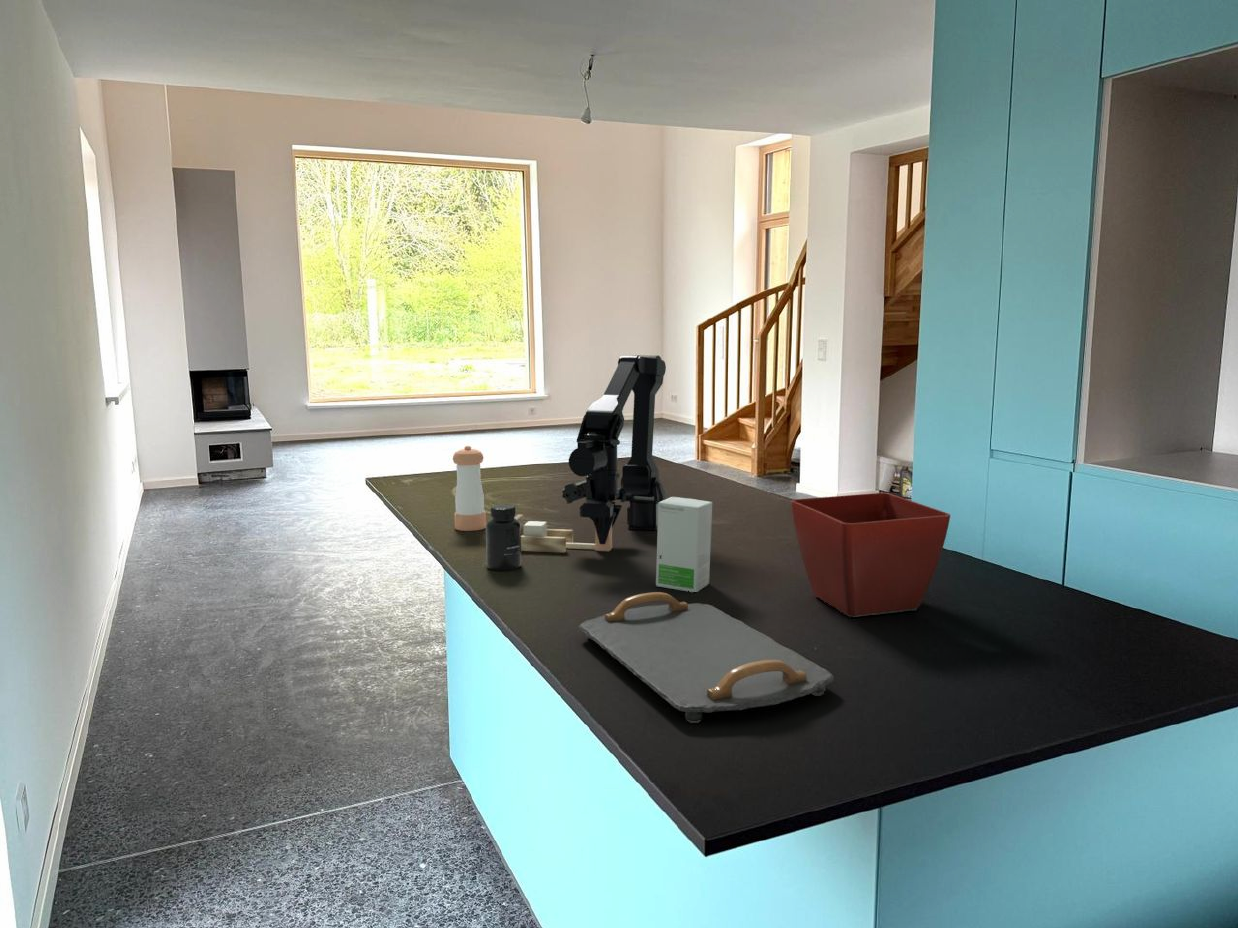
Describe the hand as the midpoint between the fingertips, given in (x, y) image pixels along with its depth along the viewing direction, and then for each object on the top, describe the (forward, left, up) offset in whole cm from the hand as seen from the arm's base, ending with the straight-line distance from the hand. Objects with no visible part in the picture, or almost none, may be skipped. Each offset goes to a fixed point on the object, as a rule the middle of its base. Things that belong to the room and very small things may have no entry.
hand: (604, 542), depth 185 cm
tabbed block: (+8, 0, -2) cm, 8 cm away
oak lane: (+13, 0, -2) cm, 13 cm away
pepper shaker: (+35, -15, -2) cm, 38 cm away
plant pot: (-50, +29, -2) cm, 58 cm away
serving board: (-25, +59, -2) cm, 65 cm away
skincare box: (-19, +23, -2) cm, 30 cm away
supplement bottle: (+17, +16, -2) cm, 23 cm away
